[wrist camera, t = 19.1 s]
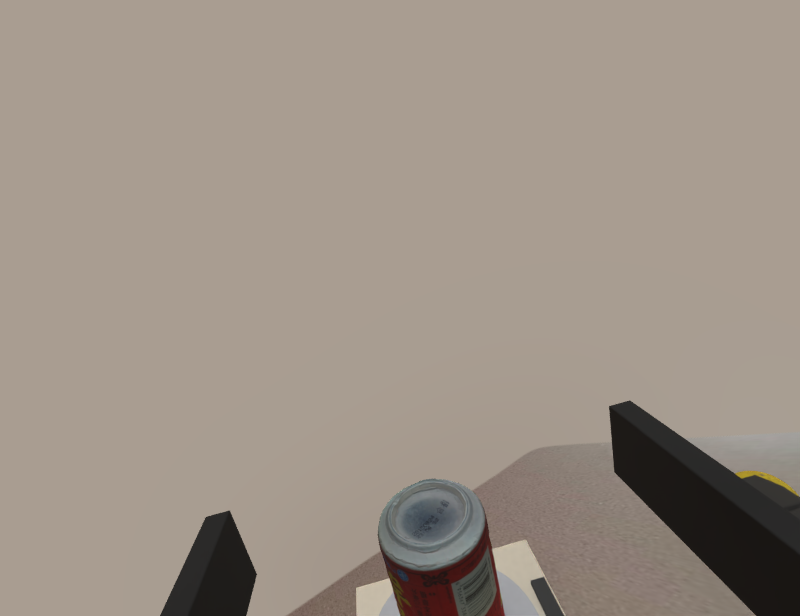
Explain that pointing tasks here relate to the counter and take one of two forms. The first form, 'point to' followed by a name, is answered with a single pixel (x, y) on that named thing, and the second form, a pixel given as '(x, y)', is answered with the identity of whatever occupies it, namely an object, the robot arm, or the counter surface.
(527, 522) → the counter surface
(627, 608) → the counter surface
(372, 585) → the kitchen scale
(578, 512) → the counter surface
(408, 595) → the soda can
